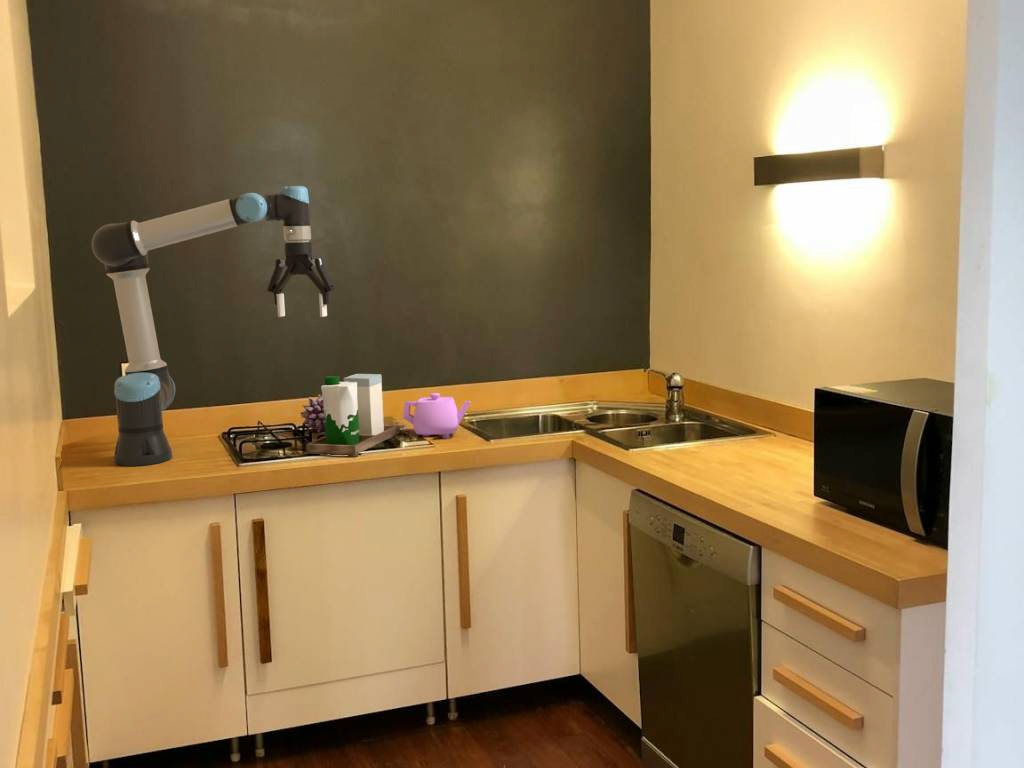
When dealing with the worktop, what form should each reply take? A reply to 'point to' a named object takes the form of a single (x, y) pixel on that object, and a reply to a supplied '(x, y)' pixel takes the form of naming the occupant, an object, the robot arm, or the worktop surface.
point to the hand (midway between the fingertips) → (302, 316)
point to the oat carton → (369, 402)
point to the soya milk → (340, 411)
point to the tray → (352, 450)
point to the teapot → (435, 415)
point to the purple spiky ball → (314, 414)
